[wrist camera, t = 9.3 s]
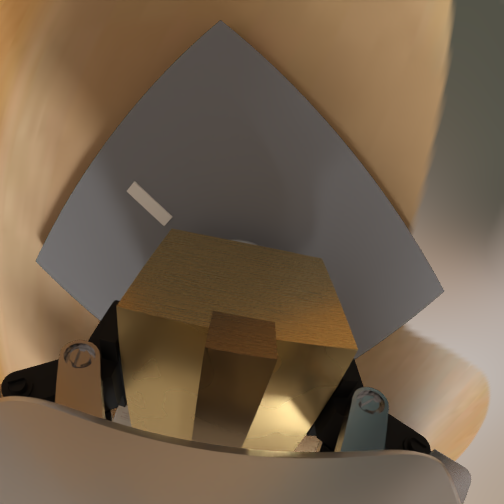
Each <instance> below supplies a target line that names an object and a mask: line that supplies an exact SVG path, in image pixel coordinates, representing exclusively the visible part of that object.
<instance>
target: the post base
mask: <svg viewBox="0 0 504 504" xmlns="http://www.w3.org/2000/svg"><path fill="white" fill-rule="evenodd" d="M171 229H177V230H182V231H187V232H192V233H197V234H203V235H208V236H213V237H218V238H223V239H228V240H233V241H238V242H243V243H248V244H253V245H258V246H263V247H268V248H273V249H278V250H283V251H288V252H293V253H298V254H303V255H308V256H313V257H317V258H322V260H323V262H324V264H325V267H326V269H327V271H328V274H329V276H330V279H331V281H332V284H333V286H334V288H335V291H336V293H337V296H338V298H339V301H340V303H341V306H342V308H343V311H344V314H345V316H346V319H347V321H348V324H349V326H350V329H351V332H352V334H353V337H354V340H355V342H356V345H357V348H358V351H357V353H356V354H355V356H354V360H355V359H356V358H358V357H359V356H361V355H362V354H364V353H365V352H367V351H368V350H369V349H371V348H372V347H374V346H375V345H377V344H378V343H379V342H381V341H382V340H384V339H385V338H386V337H388V336H389V335H390V334H392V333H393V332H394V331H396V330H397V329H398V328H400V327H401V326H402V325H404V324H405V323H406V322H408V321H409V320H410V319H411V318H412V317H414V316H415V315H417V313H419V312H420V311H421V310H422V309H424V308H425V307H426V306H427V305H429V304H430V303H431V302H432V301H433V300H435V299H436V298H437V297H438V296H439V295H441V294H442V293H443V292H444V290H443V288H442V286H441V285H440V282H439V281H438V279H437V277H436V275H435V273H434V271H433V270H432V268H431V266H430V265H429V263H428V262H427V259H426V258H425V256H424V254H423V253H422V251H421V249H420V248H419V246H418V244H417V243H416V241H415V239H414V238H413V236H412V235H411V233H410V232H409V230H408V228H407V227H406V225H405V224H404V222H403V221H402V219H401V218H400V216H399V215H398V213H397V212H396V210H395V209H394V207H393V206H392V204H391V203H390V202H389V200H388V199H387V197H386V196H385V194H384V193H383V192H382V190H381V189H380V188H379V186H378V185H377V183H376V182H375V181H374V179H373V178H372V177H371V175H370V174H369V173H368V171H367V170H366V169H365V167H364V166H363V165H362V164H361V162H360V161H359V160H358V158H357V157H356V156H355V155H354V153H353V152H352V151H351V150H350V148H349V147H348V146H347V145H346V144H345V142H344V141H343V140H342V139H341V138H340V136H339V135H338V134H337V133H336V132H335V131H334V129H333V128H332V127H331V126H330V125H329V124H328V122H327V121H326V120H325V119H324V118H323V117H322V116H321V115H320V113H319V112H318V111H317V110H316V109H315V108H314V107H313V106H312V105H311V104H310V103H309V101H308V100H307V99H306V98H305V97H304V96H303V95H302V94H301V93H300V92H299V91H298V90H297V89H296V88H295V87H294V86H293V85H292V84H291V83H290V82H289V81H288V80H287V79H286V78H285V77H284V76H283V75H282V74H281V73H280V72H279V71H278V70H277V69H276V68H275V67H274V66H273V65H272V64H271V63H270V62H268V61H267V60H266V59H265V58H264V57H263V56H262V55H261V54H260V53H259V52H258V51H256V50H255V49H254V48H253V47H252V46H251V45H250V44H249V43H247V42H246V41H245V40H244V39H243V38H242V37H240V36H239V35H238V34H237V33H236V32H234V31H233V30H232V29H231V28H230V27H228V26H227V25H226V24H225V23H223V22H222V21H221V20H220V21H219V22H218V23H217V24H215V25H214V26H213V27H212V28H211V29H210V30H208V31H207V32H206V33H205V34H204V35H203V36H202V37H201V38H199V39H198V40H197V41H196V42H195V43H194V44H193V45H192V46H191V47H190V48H189V49H188V50H187V51H185V52H184V53H183V54H182V55H181V56H180V57H179V58H178V59H177V60H176V61H175V62H174V63H173V64H172V65H171V66H170V67H169V68H168V69H167V70H166V71H165V73H164V74H163V75H162V76H161V77H160V78H159V79H158V80H157V81H156V82H155V83H154V84H153V85H152V87H151V88H150V89H149V90H148V91H147V92H146V93H145V94H144V96H143V97H142V98H141V99H140V100H139V101H138V103H137V104H136V105H135V106H134V107H133V108H132V110H131V111H130V112H129V113H128V115H127V116H126V117H125V118H124V120H123V121H122V122H121V123H120V125H119V126H118V127H117V128H116V130H115V131H114V132H113V134H112V135H111V136H110V138H109V139H108V140H107V142H106V143H105V144H104V146H103V147H102V149H101V150H100V151H99V153H98V154H97V156H96V157H95V159H94V160H93V161H92V163H91V164H90V166H89V167H88V169H87V170H86V172H85V173H84V175H83V176H82V178H81V180H80V181H79V183H78V184H77V186H76V187H75V189H74V191H73V192H72V194H71V196H70V197H69V199H68V201H67V202H66V204H65V206H64V207H63V209H62V211H61V213H60V215H59V216H58V218H57V220H56V222H55V224H54V225H53V227H52V229H51V231H50V233H49V235H48V237H47V239H46V241H45V243H44V245H43V247H42V249H41V251H40V253H39V255H38V257H37V259H36V262H37V263H38V264H39V265H40V266H41V267H42V268H43V269H44V270H45V271H46V272H47V273H48V274H49V275H50V276H51V277H52V278H53V279H54V280H55V281H56V282H57V283H58V284H59V285H60V286H61V287H62V288H64V289H65V290H66V291H67V292H68V293H69V294H70V295H71V296H72V297H73V298H74V299H76V300H77V301H78V302H79V303H80V304H81V305H82V306H83V307H85V308H86V309H87V310H88V311H89V312H90V313H92V314H93V315H94V316H95V317H96V318H98V319H99V320H100V321H101V320H102V318H103V317H104V315H105V313H106V312H107V310H108V309H109V307H110V306H111V304H112V303H113V302H114V301H115V300H118V301H120V300H121V299H122V297H123V296H124V294H125V293H126V291H127V290H128V288H129V287H130V285H131V284H132V282H133V281H134V280H135V278H136V277H137V275H138V274H139V272H140V271H141V270H142V268H143V267H144V265H145V264H146V263H147V261H148V260H149V258H150V257H151V256H152V254H153V253H154V252H155V250H156V249H157V247H158V246H159V245H160V243H161V242H162V241H163V239H164V238H165V237H166V235H167V234H168V233H169V231H170V230H171Z"/></svg>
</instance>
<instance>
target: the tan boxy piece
mask: <svg viewBox="0 0 504 504" xmlns="http://www.w3.org/2000/svg"><path fill="white" fill-rule="evenodd" d="M116 307H117V322H118V335H119V346H120V355H121V364H122V372H123V379H124V386H125V393H126V399H127V405H128V411H129V416H130V421H131V426H132V427H133V428H137V429H140V430H144V431H148V432H152V433H156V434H161V435H165V436H170V437H174V438H179V439H184V440H190V441H195V442H201V443H207V444H213V445H220V446H228V447H236V448H245V449H255V450H268V451H285V452H294V450H295V449H296V448H297V446H298V445H299V443H300V442H301V441H302V439H303V438H304V436H305V435H306V434H307V432H308V431H309V429H310V428H311V426H312V425H313V423H314V422H315V420H316V419H317V417H318V416H319V414H320V413H321V411H322V410H323V408H324V407H325V405H326V404H327V402H328V400H329V399H330V397H331V396H332V394H333V392H334V391H335V389H336V387H337V386H338V384H339V382H340V381H341V379H342V377H343V376H344V374H345V372H346V370H347V369H348V367H349V365H350V363H351V362H352V360H353V358H354V356H355V354H356V353H357V351H358V348H357V345H356V342H355V340H354V337H353V334H352V332H351V329H350V326H349V324H348V321H347V319H346V316H345V314H344V311H343V308H342V306H341V303H340V301H339V298H338V296H337V293H336V291H335V288H334V286H333V284H332V281H331V279H330V276H329V274H328V271H327V269H326V267H325V264H324V262H323V260H322V258H317V257H313V256H308V255H303V254H298V253H293V252H288V251H283V250H278V249H273V248H268V247H263V246H258V245H253V244H248V243H243V242H238V241H233V240H228V239H223V238H218V237H213V236H208V235H203V234H197V233H192V232H187V231H182V230H177V229H171V230H170V231H169V233H168V234H167V235H166V237H165V238H164V239H163V241H162V242H161V243H160V245H159V246H158V247H157V249H156V250H155V252H154V253H153V254H152V256H151V257H150V258H149V260H148V261H147V263H146V264H145V265H144V267H143V268H142V270H141V271H140V272H139V274H138V275H137V277H136V278H135V280H134V281H133V282H132V284H131V285H130V287H129V288H128V290H127V291H126V293H125V294H124V296H123V297H122V299H121V300H120V302H119V303H118V305H117V306H116Z"/></svg>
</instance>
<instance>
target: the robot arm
mask: <svg viewBox="0 0 504 504" xmlns="http://www.w3.org/2000/svg"><path fill="white" fill-rule="evenodd" d="M119 302H120V301H118V300H115V301H114V302H113V303H112V304H111V306H110V307H109V309H108V310H107V312H106V313H105V315H104V317H103V318H102V320H101V321H100V323H99V324H98V326H97V328H96V329H95V331H94V332H93V334H92V336H91V337H90V339H89V341H85V340H75V341H72V342H69V343H67V344H66V345H64V347H63V348H62V349H61V351H60V354H59V359H58V360H55V361H51V362H48V363H44V364H41V365H37V366H34V367H30V368H27V369H23V370H19V371H15V372H13V373H10V374H9V375H8V376H6V377H5V379H4V380H3V382H2V384H0V504H463V503H464V500H465V498H466V495H467V492H468V489H469V486H470V483H471V476H470V473H469V471H468V470H467V469H466V468H465V467H463V466H462V465H460V464H458V463H456V462H455V461H453V460H451V459H450V458H448V457H446V456H445V455H443V454H441V453H440V452H438V451H437V450H435V449H434V450H433V451H430V445H429V443H428V441H427V440H426V439H425V438H424V437H423V436H422V435H420V434H419V433H417V432H416V431H414V430H413V429H411V428H409V427H408V426H406V425H405V424H403V423H402V422H400V421H399V420H397V419H396V418H394V417H393V416H391V415H390V414H388V411H389V405H388V401H387V399H386V397H385V396H384V395H383V394H382V393H381V392H380V391H378V390H376V389H374V388H370V387H363V384H362V381H361V378H360V375H359V372H358V369H357V366H356V363H355V360H354V358H353V360H352V362H351V363H350V365H349V367H348V369H347V370H346V372H345V374H344V376H343V377H342V379H341V381H340V382H339V384H338V386H337V387H336V389H335V391H334V392H333V394H332V396H331V397H330V399H329V400H328V402H327V404H326V405H325V407H324V408H323V410H322V411H321V413H320V414H319V416H318V417H317V419H316V420H315V422H314V423H313V425H312V426H311V428H310V429H309V431H308V432H307V436H317V438H318V439H319V440H320V441H319V444H318V447H317V450H316V452H285V451H268V450H255V449H245V448H236V447H228V446H220V445H213V444H207V443H201V442H195V441H190V440H184V439H179V438H174V437H170V436H165V435H161V434H156V433H152V432H148V431H144V430H140V429H137V428H133V427H129V426H126V425H122V424H119V423H116V422H113V414H112V409H114V408H117V407H118V406H122V407H126V404H127V399H126V393H125V386H124V379H123V372H122V364H121V355H120V346H119V335H118V322H117V307H116V306H117V305H118V303H119Z"/></svg>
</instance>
